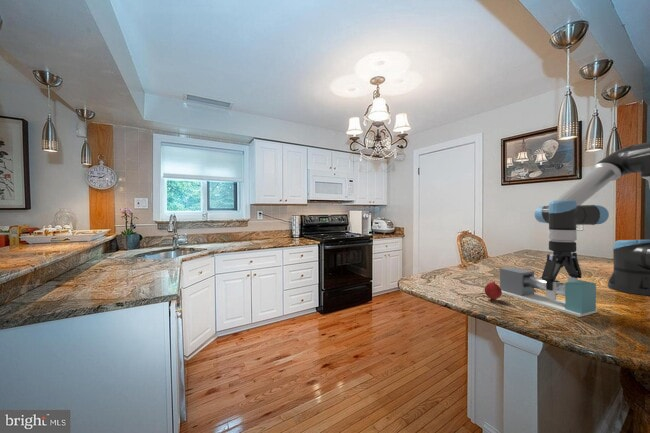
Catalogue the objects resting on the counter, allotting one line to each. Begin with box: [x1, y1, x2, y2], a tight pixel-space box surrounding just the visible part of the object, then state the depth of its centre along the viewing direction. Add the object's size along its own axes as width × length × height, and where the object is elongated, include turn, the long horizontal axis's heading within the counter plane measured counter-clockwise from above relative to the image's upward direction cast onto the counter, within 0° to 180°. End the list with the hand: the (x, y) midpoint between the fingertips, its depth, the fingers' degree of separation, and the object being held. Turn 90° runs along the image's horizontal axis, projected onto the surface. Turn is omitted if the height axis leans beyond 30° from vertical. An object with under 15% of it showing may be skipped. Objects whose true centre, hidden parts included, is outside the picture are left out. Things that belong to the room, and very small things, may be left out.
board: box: [501, 290, 599, 318], centre depth 98 cm, size 11×28×1 cm, turn 20°
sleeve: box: [499, 266, 535, 296], centre depth 107 cm, size 8×9×10 cm
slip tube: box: [524, 275, 566, 297], centre depth 95 cm, size 19×6×6 cm, turn 20°
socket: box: [564, 279, 597, 314], centre depth 87 cm, size 9×4×10 cm, turn 110°
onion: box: [484, 280, 502, 301], centre depth 100 cm, size 6×6×8 cm
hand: (562, 296), depth 92 cm, fingers open, 13 cm apart
